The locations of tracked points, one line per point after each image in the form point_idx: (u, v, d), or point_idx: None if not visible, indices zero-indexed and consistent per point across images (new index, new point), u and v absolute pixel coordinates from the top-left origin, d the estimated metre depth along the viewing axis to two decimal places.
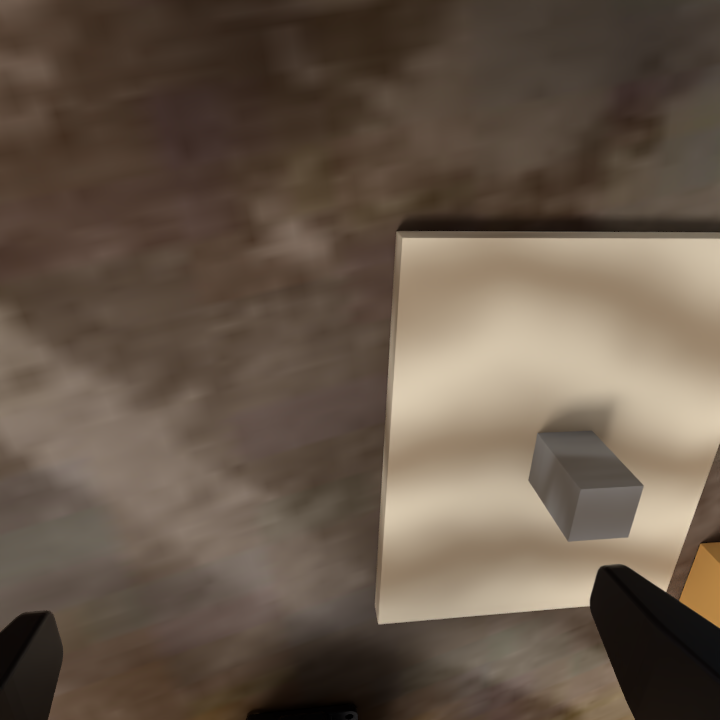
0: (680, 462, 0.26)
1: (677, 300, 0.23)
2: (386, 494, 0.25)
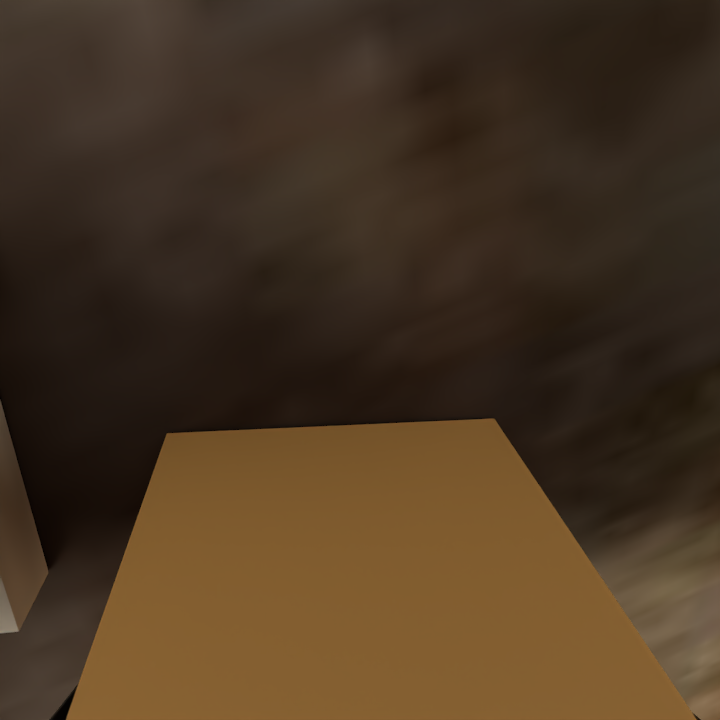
0: None
1: None
2: None
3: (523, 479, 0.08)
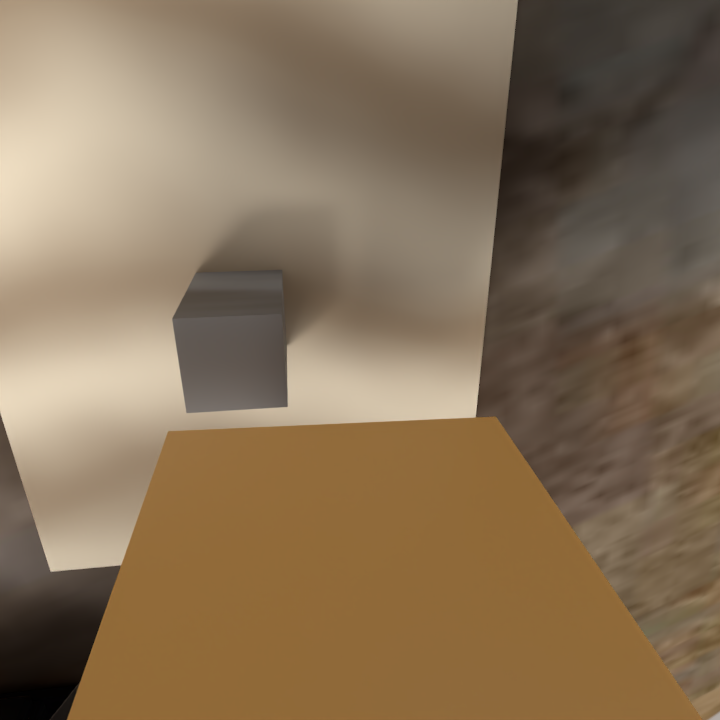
0: (435, 323, 0.18)
1: (358, 41, 0.15)
2: None
3: (525, 477, 0.08)
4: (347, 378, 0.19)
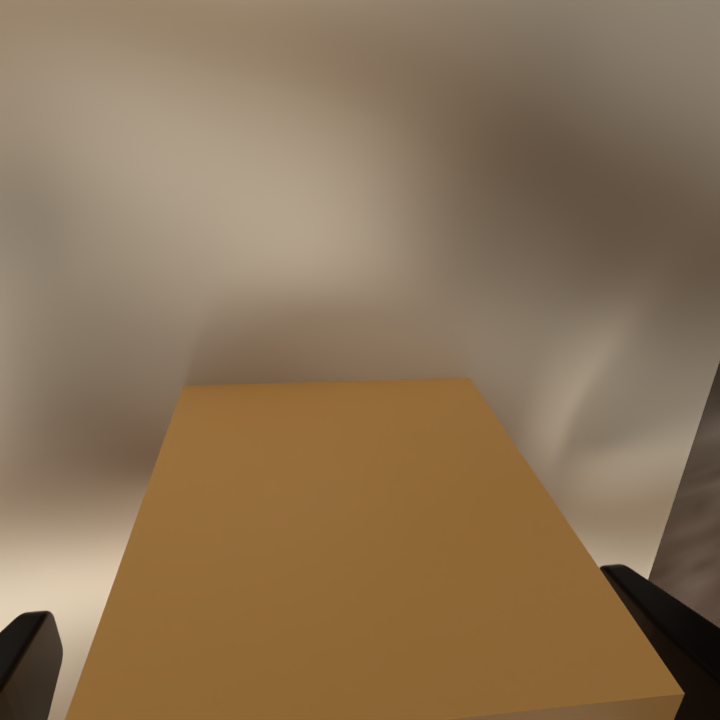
0: (603, 507, 0.13)
1: (560, 112, 0.09)
2: None
3: (490, 423, 0.09)
4: None
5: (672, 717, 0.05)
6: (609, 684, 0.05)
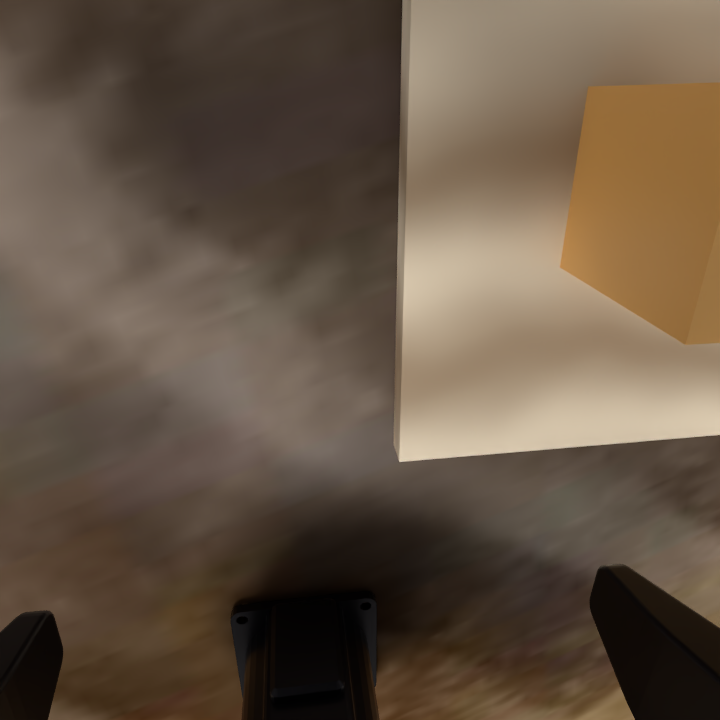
0: None
1: None
2: (405, 244, 0.17)
3: None
4: None
5: None
6: None
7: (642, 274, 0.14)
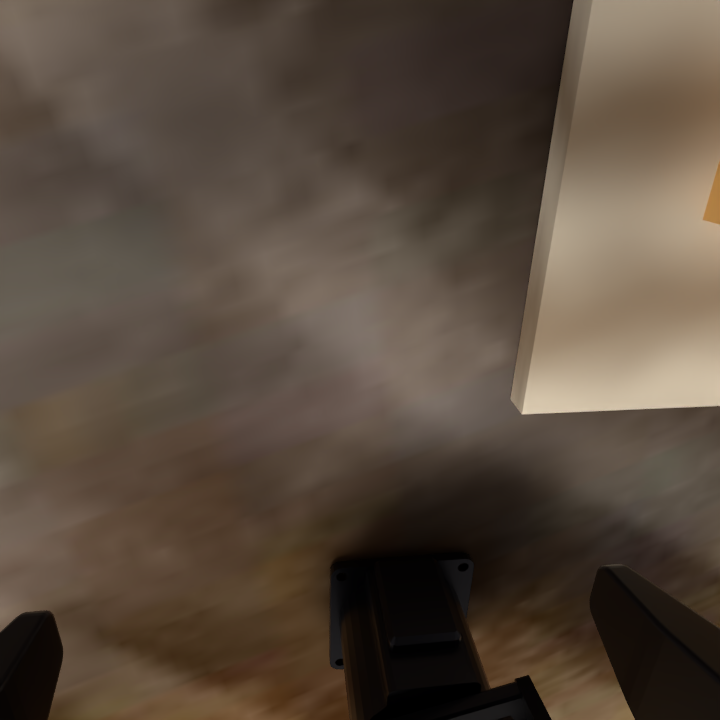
0: None
1: None
2: (560, 188, 0.18)
3: None
4: None
5: None
6: None
7: None
